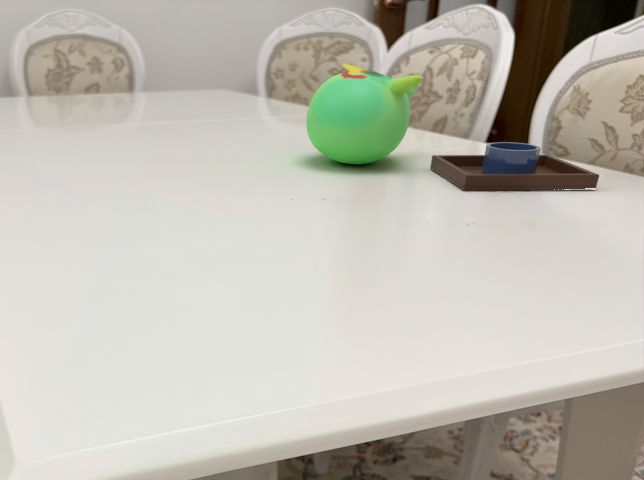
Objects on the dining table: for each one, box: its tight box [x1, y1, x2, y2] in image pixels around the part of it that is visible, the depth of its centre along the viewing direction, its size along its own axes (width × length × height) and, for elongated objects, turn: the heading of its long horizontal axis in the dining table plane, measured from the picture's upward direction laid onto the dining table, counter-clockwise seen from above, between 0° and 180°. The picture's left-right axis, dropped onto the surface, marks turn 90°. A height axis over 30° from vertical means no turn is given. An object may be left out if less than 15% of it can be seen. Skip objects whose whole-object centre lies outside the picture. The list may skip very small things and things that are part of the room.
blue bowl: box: [481, 141, 542, 174], centre depth 97 cm, size 7×7×4 cm
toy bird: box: [305, 63, 423, 165], centre depth 107 cm, size 18×17×15 cm
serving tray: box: [429, 154, 600, 192], centre depth 98 cm, size 18×15×2 cm
